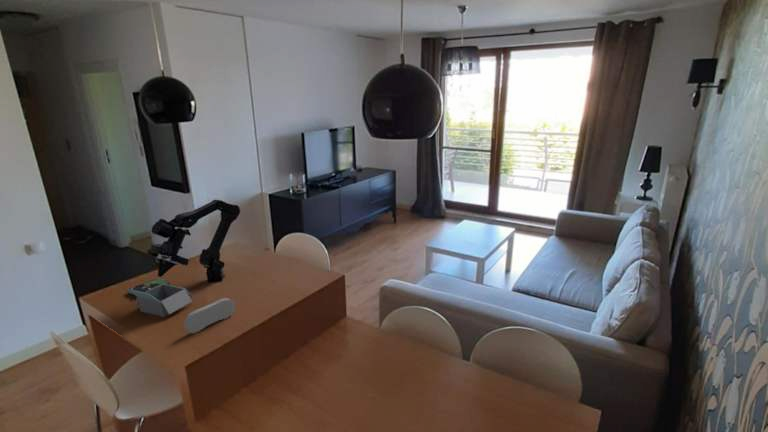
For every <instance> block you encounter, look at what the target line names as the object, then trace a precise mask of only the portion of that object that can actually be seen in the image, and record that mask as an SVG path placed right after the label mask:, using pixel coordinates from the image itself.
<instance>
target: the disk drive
mask: <svg viewBox="0 0 768 432" xmlns="http://www.w3.org/2000/svg"><path fill="white" fill-rule="evenodd" d="M161 284H168V285H171V283H170V281H168V280H167V279H163V278H162V277H158V278H156V279H152V280H150V281H147V282H144V283H142V284H139V285H136V286H132V287H129V289H131V290H136V291H140V292H146V291H148V290H150V289H152V288H154V287H157V286H159V285H161ZM127 293H128V294H129V296H132V297H133V298H134V299H135V300H137V296H136V295H134V294H133V293H131V292H130V291H128V290H127Z"/></svg>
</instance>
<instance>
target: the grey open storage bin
mask: <svg viewBox="0 0 768 432" xmlns="http://www.w3.org/2000/svg"><path fill="white" fill-rule="evenodd" d="M144 293H149V294H150V295H152V296H153V297H155V298H156V299H158V300H159V302H158V301H154V300H150V299H146V298H142V297H138V296H137V299H136V301H135V302H136V303H135V306H136V307H138V306H139V311H140V312H141V313H145V314H148V315H153V316H156V317H160V318H163V319H164V318H166V317H167V316H169V315H171V314H173V313H175V312H176V311H178V310H180V309H182V308H183V307H185V306H187V305H188V304H191V303H192V302H193V300H192V298H191V297H194V295H193V294H192V293H191V292H190V291H189V290H188V289H187V288H185V287H183V286H178V285H172V284H170V285H168V284H161V285H159V286H157V287H154V288H152V289H150V290H148V291H146V292H144Z"/></svg>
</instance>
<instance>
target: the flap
mask: <svg viewBox="0 0 768 432" xmlns="http://www.w3.org/2000/svg"><path fill="white" fill-rule="evenodd" d="M126 290H127V292H128V291H130V292H131V293H133V294H134V295H136V296H138V297H142V298H146V299H150V300H154V301H158V302H159V300H158V299H156V298H155V297H153V296H152V295H150V294H149V293H144V292H140V291H136V290H131V289H130V288H126Z"/></svg>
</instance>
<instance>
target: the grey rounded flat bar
mask: <svg viewBox="0 0 768 432" xmlns="http://www.w3.org/2000/svg"><path fill="white" fill-rule="evenodd" d="M235 308H236V305H235V302H234V301H233V300H232V299H229V298H227V297H225V298H220V299H219V300H216V301H215V302H212V303H210V304H209V303H208V304H207V305H205V306H203V307H201V308H198V309H195V310H193V311H191V312H190V313H189V314H187V315H186V317H185V318H184V320H183V329H184V330H185V331H187V332H188V333H190V334H196V333H195V332H198V331H200V330H202V329H203V330H204V329H205V328H206V327H208V326H210V325H212V324H214V323H216V322H218V321H220V320H223V319H224V320H226V319H225V318H227V317H229V316H230V317H231V316H232V315H233V314H234V312H235ZM230 317H229V318H230ZM227 319H228V318H227ZM203 330H202V331H203ZM200 332H201V331H200ZM198 333H199V332H198Z"/></svg>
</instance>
